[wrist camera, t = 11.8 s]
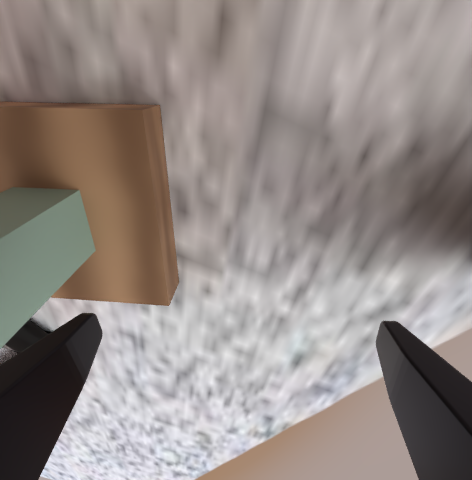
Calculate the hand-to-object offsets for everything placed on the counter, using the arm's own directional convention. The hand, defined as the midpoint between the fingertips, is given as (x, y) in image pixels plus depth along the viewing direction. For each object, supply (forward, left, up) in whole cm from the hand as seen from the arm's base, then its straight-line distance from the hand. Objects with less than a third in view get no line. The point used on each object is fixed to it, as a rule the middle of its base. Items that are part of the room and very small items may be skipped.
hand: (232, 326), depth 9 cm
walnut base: (+13, +1, -13) cm, 18 cm away
